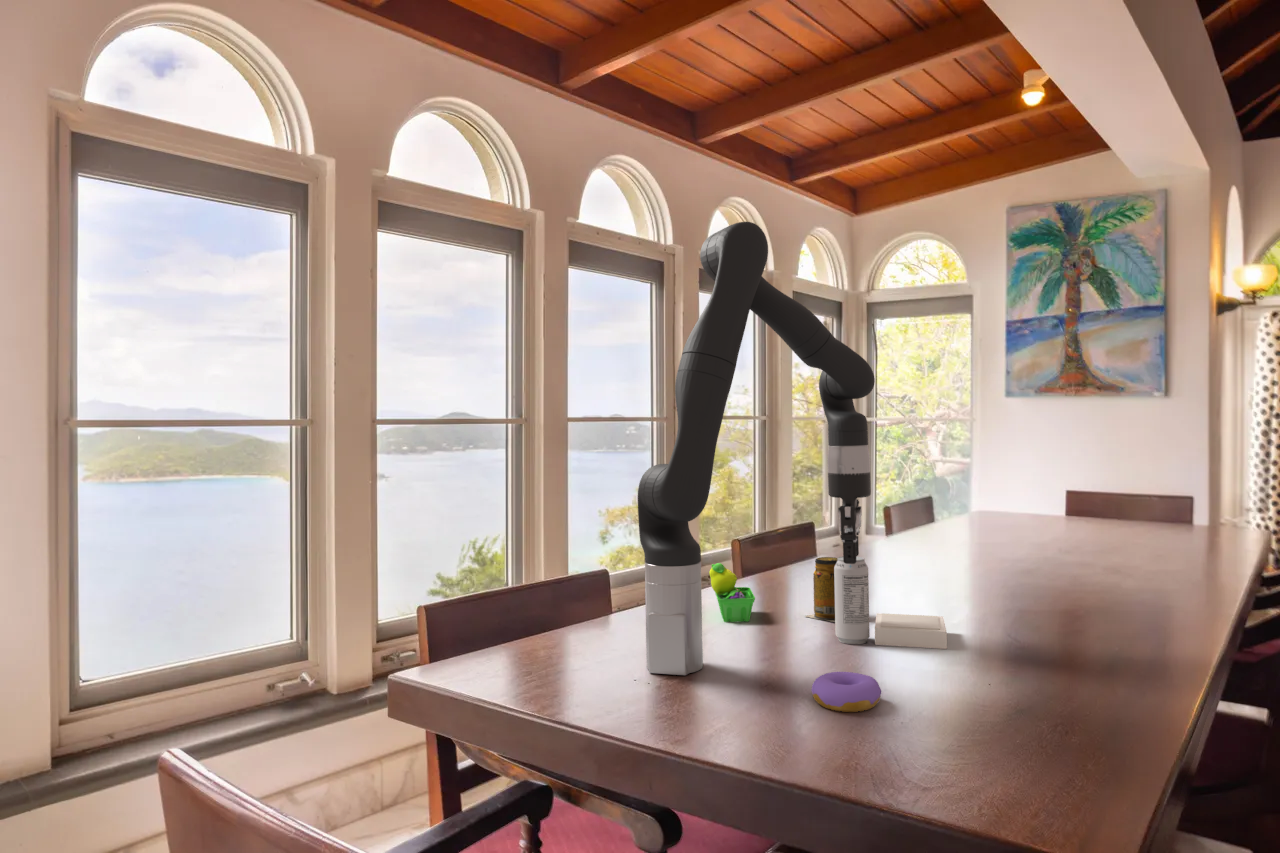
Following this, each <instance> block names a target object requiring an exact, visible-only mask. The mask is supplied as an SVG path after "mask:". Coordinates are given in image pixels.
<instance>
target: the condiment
mask: <svg viewBox="0 0 1280 853" xmlns="http://www.w3.org/2000/svg"><path fill="white" fill-rule="evenodd" d="M837 558H838V557H832V556H830V557H829V556H821V557H817V558H815V560H814V561H815V563H814V564H815V566H814V568H815V570H814V572H813V612H814V613H813V614H808V615H805V617H807V618H810V619H814V620H820V621H828V622H833V623H835V584H834V567H835V565H836V563H837V561H838V559H837Z"/></svg>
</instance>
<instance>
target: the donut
mask: <svg viewBox="0 0 1280 853" xmlns="http://www.w3.org/2000/svg"><path fill="white" fill-rule="evenodd" d="M811 693H812V696H813V699H814V700H815V701H816V703H818V705H820V707H823V708H825V709H827V710H830V709H831V711H834V710H835V711H834V712H840V711H842V712H841V713H859V712H858V711H860V712H864V710H865V711H868V710H870V709H872V708H874V707H875V706H876V705H877V704H879V703H880V700H881V695H882V689H881V687H880V684H879V683H878V681H877V680H876V678H874V677H873V676H870V675H867V674H862V673H859V672H851V671H831V672H827V673H824V674H821V675H819V676H818V677H817V678H815V680H813V683H812V686H811Z"/></svg>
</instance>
